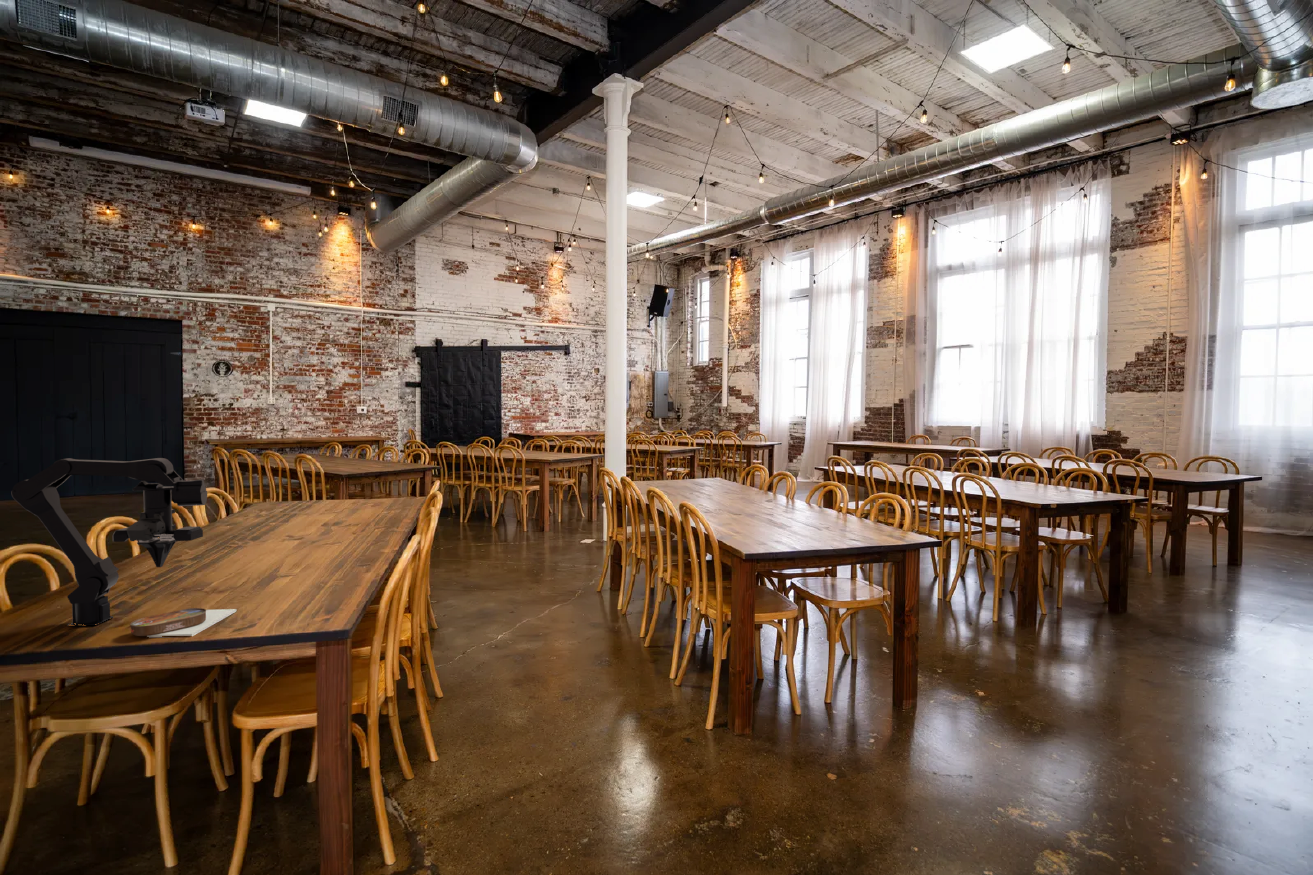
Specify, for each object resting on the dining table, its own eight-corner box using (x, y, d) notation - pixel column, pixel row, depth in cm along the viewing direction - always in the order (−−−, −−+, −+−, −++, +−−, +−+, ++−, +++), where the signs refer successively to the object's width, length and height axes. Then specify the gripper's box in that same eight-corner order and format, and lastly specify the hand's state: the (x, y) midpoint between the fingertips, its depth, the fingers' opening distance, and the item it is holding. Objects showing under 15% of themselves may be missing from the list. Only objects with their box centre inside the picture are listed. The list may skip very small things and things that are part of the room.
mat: (147, 637, 153) (147, 635, 153) (196, 612, 172) (196, 610, 172) (192, 636, 154) (191, 634, 154) (236, 611, 173) (236, 609, 173)
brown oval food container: (200, 605, 167) (210, 610, 161) (201, 618, 167) (211, 623, 161) (126, 620, 155) (134, 626, 150) (126, 633, 155) (135, 639, 150)
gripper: (94, 512, 158) (96, 575, 158) (176, 511, 160) (177, 574, 160) (127, 505, 169) (129, 564, 170) (203, 505, 171) (204, 563, 171)
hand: (159, 567), depth 167 cm, fingers closed
